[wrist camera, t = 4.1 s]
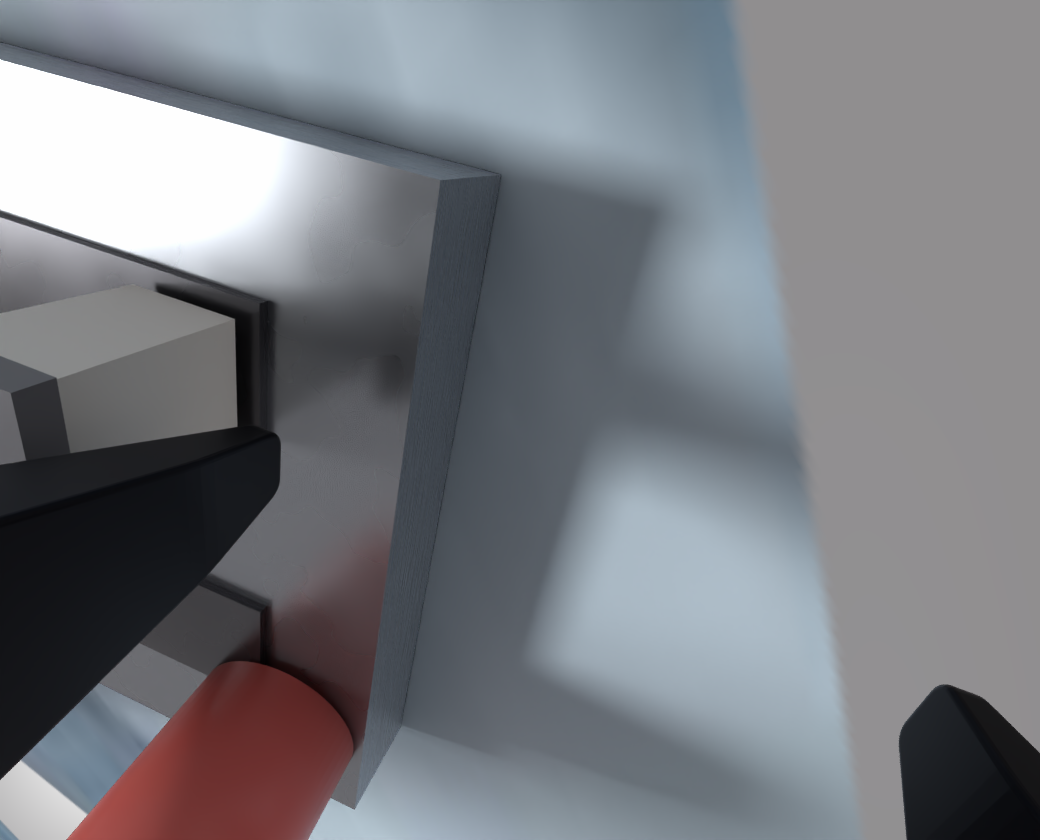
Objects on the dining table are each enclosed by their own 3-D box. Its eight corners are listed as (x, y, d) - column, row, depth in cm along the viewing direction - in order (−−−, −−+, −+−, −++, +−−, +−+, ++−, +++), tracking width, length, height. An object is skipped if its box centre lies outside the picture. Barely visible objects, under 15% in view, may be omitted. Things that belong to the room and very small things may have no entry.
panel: (400, 726, 17) (319, 872, 14) (-90, 500, 21) (-255, 571, 17) (501, 174, 10) (384, 185, 6) (-282, -33, 13) (-634, -100, 10)
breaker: (240, 448, 10) (50, 564, 7) (144, 411, 11) (-74, 508, 8) (237, 317, 9) (9, 393, 6) (129, 280, 10) (-133, 336, 7)
